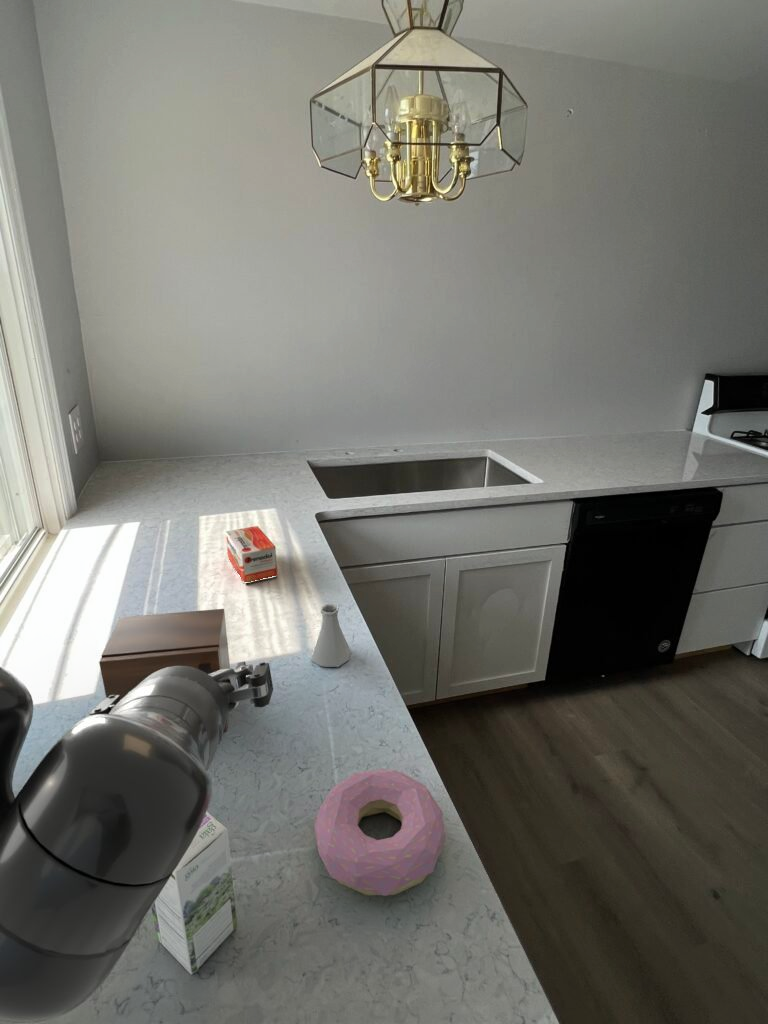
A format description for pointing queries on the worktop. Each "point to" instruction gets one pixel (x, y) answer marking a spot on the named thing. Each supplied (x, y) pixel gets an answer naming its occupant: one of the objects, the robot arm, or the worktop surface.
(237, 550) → the medicine box
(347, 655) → the flask
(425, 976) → the worktop surface
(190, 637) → the cabinet
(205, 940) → the syrup box
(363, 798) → the donut
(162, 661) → the door
